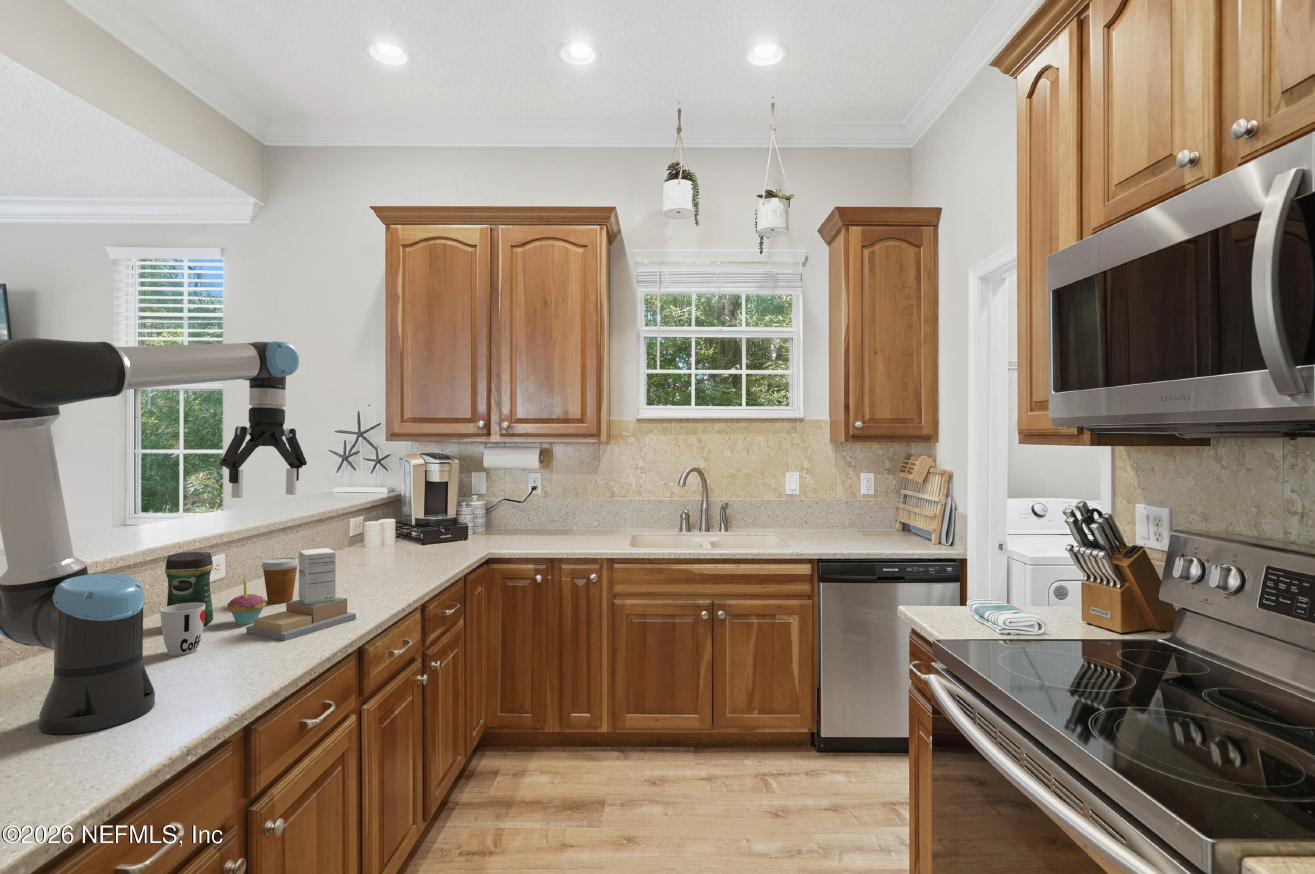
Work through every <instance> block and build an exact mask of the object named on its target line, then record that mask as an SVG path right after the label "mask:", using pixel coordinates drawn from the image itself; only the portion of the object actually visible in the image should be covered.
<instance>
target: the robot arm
mask: <svg viewBox="0 0 1315 874" xmlns="http://www.w3.org/2000/svg"><path fill="white" fill-rule="evenodd" d="M299 365H300V355H299V351H297V349H296V348H295V347H294V345H292V344H290V343H289V342H285V341H253V342H246V343H245V342H241V343H239V342H236V343H235V342H233V343H221V342H219V341H218V342H211V341H206V342H203V343H201V344H175V345H174V344H173V345H145V346H144V345H142V346H141V345H140V346H116V345H115V344H112V343H111V342H108V341H77V340H76V341H75V340H64V339H53V338H52V339H51V338H38V337H29V338H27V337H26V338H25V337H24V338H16V339H0V535H1V538H2V545H3V549H4V554H5V559H6V565H7V569H6V570H5V572H4V573H3V574H2V575H1V576H0V635H1V636H3V637H4V638H5V639H8V640H11V641H12V642H14V643H16V644H22V645H24V646H29V647H40V648H45V649H51V650H53V679H52V682H51V684H50V687H49V689H48V691H47V695H46V696H45V699H44V702H43V704H42V705H41V706H42V707H41V710H40V712H39V716H38V729H39V731H41V732H42V733H45V734H49V735H74V734H82V733H89V732H93V731H94V732H95V731H98V730H102V729H108V728H111V727H114V726H118V725H122V724H124V723H127V722H130V721H132V720H135V719H137V718H139V717H141V716H143V715H145V714H146V713H148V712H150V711H151V710H152V709H153V708H154V707H155V704H156V692H155V689H154V685H153V684H152V681H151V679H150V676H149V674H148V673H147V670H146V667H145V665H144V661H143V660H144V659H143V657H144V656H143V655H144V652H143V649H144V605H145V596H144V591H143V585H142V583H141V582H140V580H138V579H137V578H135V577H133V576H129V575H125V574H119V573H117V574H116V573H113V574H108V573H96V574H89V571H88V566H87V565H88V564H87V561H84V560H82V559H80V558H79V557H76V556H75V555H74V551H73V544H72V540H71V539H72V538H71V533H70V528H69V523H68V515H67V512H66V506H65V501H64V495H63V488H62V483H61V478H60V477H61V476H60V472H59V466H58V460H57V456H56V455H57V454H56V450H55V444H54V443H55V442H54V437H53V432H52V425H53V424H54V423H55V422H56V421H57V420H58V419H59V418H60V417H61V413H60V407H61V406H64V405H69V404H73V403H74V404H75V403H79V402H85V401H91V400H95V399H101V398H102V399H103V398H112V397H114V398H115V397H118V396H120V395H122V393H123V392H124V391H125V390H137V389H147V388H158V387H169V386H171V387H172V386H181V385H182V386H183V385H192V384H203V383H213V382H216V383H217V382H224V381H225V382H226V381H237V380H243V381H248V385H249V388H248V389H249V390H248V391H249V392H248V393H249V394H248V395H249V397H248V398H249V399H248V401H249V403H248V405H249V406H251V407H249V408H248V422H249V426H248V427H247V426H244V425H243V426H239V425H238V426H236V427H235V429H234V436H233V438H232V439H231V441H230V443H229V445H228V446H227V449H226V450H225V453H224V455H223V456H222V458H221V460H220V462H219V465H220V466H221V467H224V468H226V469H227V470H228V482H229V484H231V497H230V498H232V499H243V493H244V492H243V490H244V489H243V488H244V469H241V467H242V466H243V465H244V463H245V462H247V460H249V458H250V456H251V455H252V453H254V451H255V450H256V449H257V448H260V447H273V448H274V449H276V450H277V452H278V453H279V455H280V456H281V457H282V459H283V460H284V461H285V463H286V464H287V465H288V468H286V470H285V471H286V472H285V473H286V475H285V495H287V496H288V495H290V496H296V495H297V482H298V481H299V478H300V477H299V476H300V469H301V468H303V466H307V464H308V462H307V459H306V457H305V455H304V452H303V450H302V448H301V445H300V443H299V440H298V438H297V430H296V428H284V424H285V423H286V410H285V409H284V407H286V402H287V401H286V399H287V398H286V397H287V391H286V389H287V388H286V385H287V377H288V376H289V377H290V376H291V375H293V374H294V373H295V372H296V371H297V370H298V368H299ZM247 436H249V438H248V440H247V441H245V440H246V439H247ZM283 437H284V438H285V439H284V438H283ZM244 443H245V444H244ZM243 445H244V446H243ZM287 445H288V446H287Z"/></svg>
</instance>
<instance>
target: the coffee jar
mask: <svg viewBox="0 0 1315 874" xmlns="http://www.w3.org/2000/svg"><path fill="white" fill-rule="evenodd" d="M164 568H165V569H164V572H165V576H166V577H167V601H166V607H167V606H171V605H176V604H183V603H204V604H205V617H204V626H208V625H209V624H211V623H212V621H213V620H214V612H213V611H214V610H213V602H212V595H211V580H210V579H211V573H212V570H213V568H214V561H213V556H212V553H211V552H210V551H185V552H177V553H173V554H170V555H168V556H167V558H166V561H165V567H164Z"/></svg>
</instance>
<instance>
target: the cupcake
mask: <svg viewBox="0 0 1315 874" xmlns="http://www.w3.org/2000/svg"><path fill="white" fill-rule="evenodd" d="M247 583H248V582H247V580H246V577H245V576H244V580H243V594H241V595H238V596H236V597H234V598H233V599H230V601H228V603H227V605H226V610H227V611H228V612H230V613H231V614H232V616H233V618H234V619H233V620H234V622H235V624H236V625H239V626H240V625H241V626H243V625H250V624H252V625H253V624H254V619H256V618H260V615H261V612H262V611H263V610H264V608H265V607H266V606H267V605H266V604H267V603H266V602H267V600H265V598H264V597H263V596H261V595H257V594H254V593H249V594H248V590H247V589H248V588H247V586H248V585H247Z"/></svg>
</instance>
